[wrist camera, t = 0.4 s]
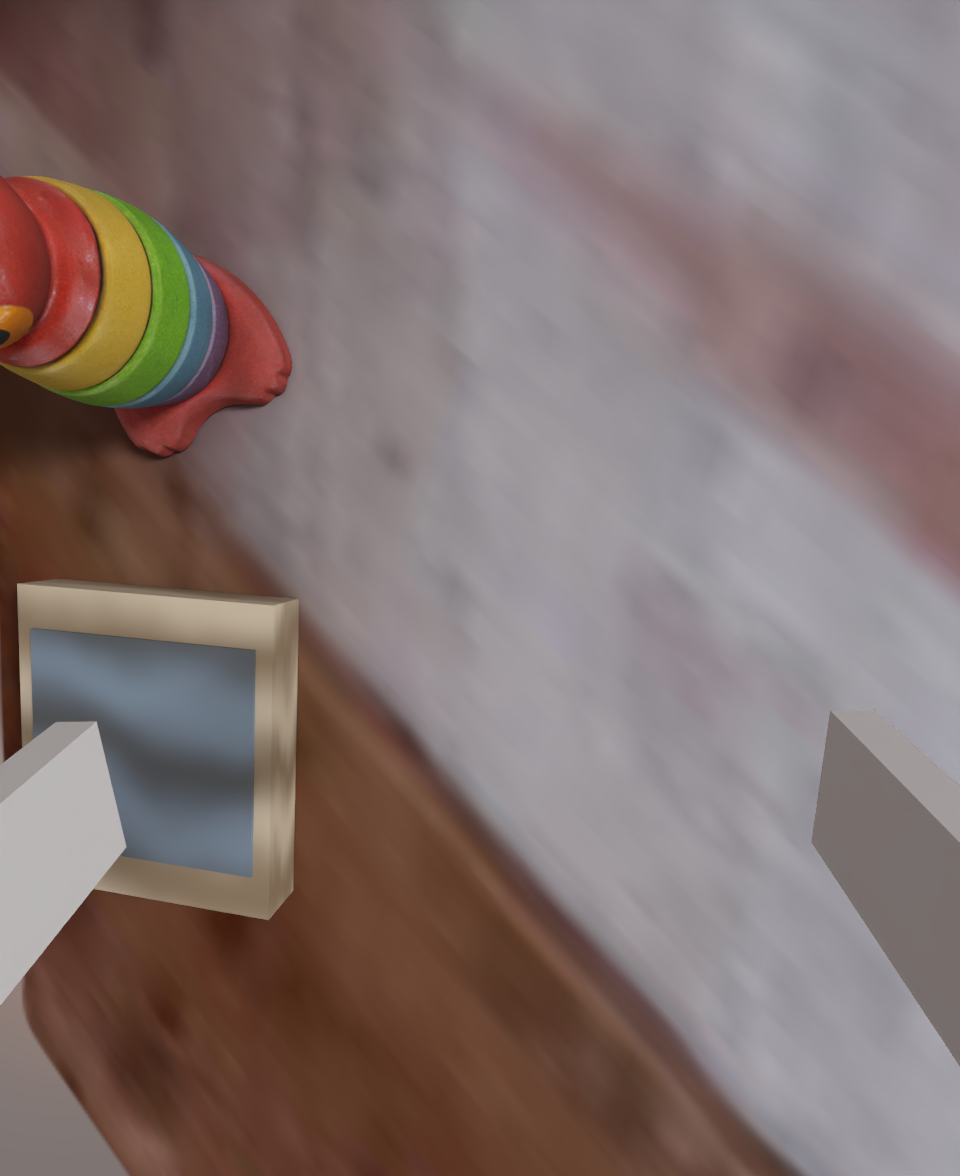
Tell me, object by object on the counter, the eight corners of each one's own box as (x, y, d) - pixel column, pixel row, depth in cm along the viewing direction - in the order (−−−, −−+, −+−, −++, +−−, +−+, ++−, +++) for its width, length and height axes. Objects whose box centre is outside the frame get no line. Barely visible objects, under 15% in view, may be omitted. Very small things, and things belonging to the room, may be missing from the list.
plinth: (59, 578, 41) (14, 583, 38) (299, 598, 38) (271, 606, 35) (65, 852, 43) (23, 878, 40) (292, 890, 40) (266, 921, 37)
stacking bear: (153, 469, 39) (-210, 432, 22) (80, 311, 39) (-345, 147, 21) (306, 384, 37) (36, 266, 19) (229, 216, 37) (-113, -56, 19)
